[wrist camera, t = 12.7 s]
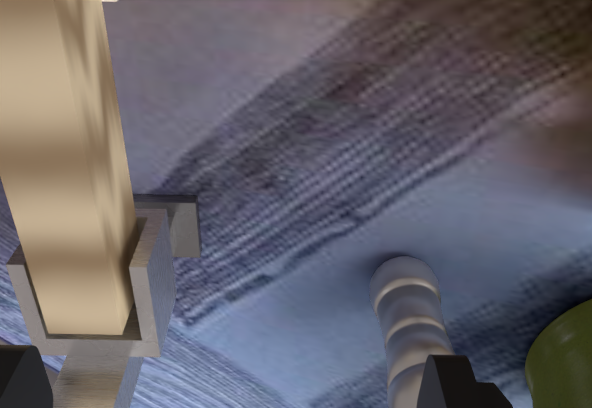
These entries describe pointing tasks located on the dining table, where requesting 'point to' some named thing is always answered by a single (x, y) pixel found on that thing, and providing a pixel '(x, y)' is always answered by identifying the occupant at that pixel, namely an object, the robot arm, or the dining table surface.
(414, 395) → the plastic bottle
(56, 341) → the cup bracket
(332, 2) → the dining table surface
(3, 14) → the maple rail
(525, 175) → the dining table surface
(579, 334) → the plant pot
